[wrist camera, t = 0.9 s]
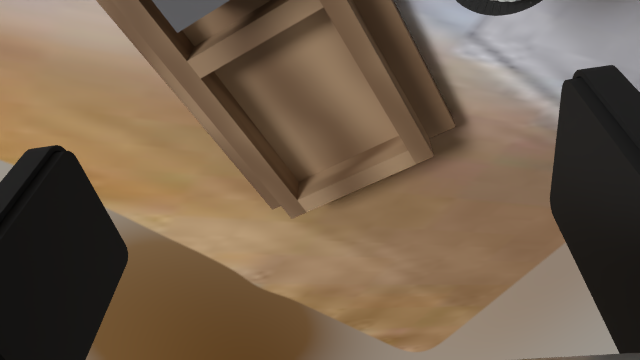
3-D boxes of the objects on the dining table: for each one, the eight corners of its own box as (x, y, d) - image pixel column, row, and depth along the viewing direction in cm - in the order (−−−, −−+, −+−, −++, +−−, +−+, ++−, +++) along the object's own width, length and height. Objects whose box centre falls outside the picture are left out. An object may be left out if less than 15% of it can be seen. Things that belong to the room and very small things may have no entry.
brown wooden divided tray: (234, -314, 22) (221, -326, 20) (452, 117, 34) (461, 144, 32) (10, -120, 27) (-24, -109, 24) (273, 198, 39) (269, 228, 36)
